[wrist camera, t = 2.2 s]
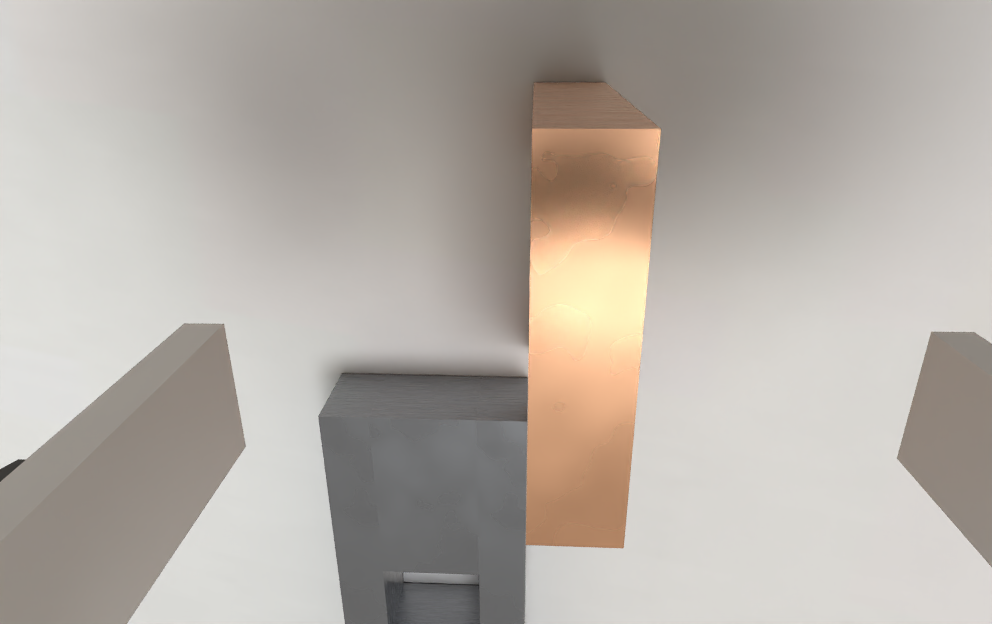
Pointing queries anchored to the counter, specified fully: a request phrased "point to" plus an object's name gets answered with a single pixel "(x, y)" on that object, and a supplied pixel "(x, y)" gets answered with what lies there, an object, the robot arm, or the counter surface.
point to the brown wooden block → (586, 308)
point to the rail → (428, 495)
